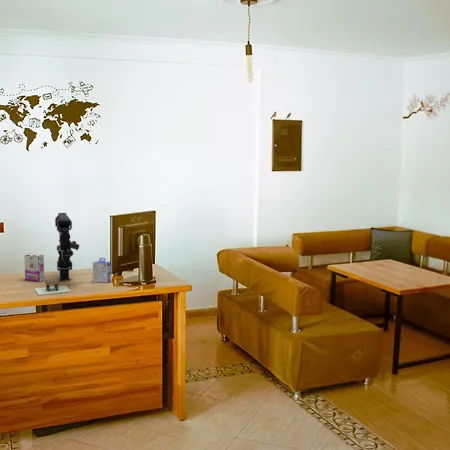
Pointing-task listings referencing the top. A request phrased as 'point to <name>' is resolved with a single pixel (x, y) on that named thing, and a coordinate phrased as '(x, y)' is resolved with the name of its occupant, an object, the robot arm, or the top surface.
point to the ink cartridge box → (102, 271)
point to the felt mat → (52, 290)
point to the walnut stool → (51, 283)
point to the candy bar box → (34, 267)
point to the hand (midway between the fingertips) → (65, 264)
